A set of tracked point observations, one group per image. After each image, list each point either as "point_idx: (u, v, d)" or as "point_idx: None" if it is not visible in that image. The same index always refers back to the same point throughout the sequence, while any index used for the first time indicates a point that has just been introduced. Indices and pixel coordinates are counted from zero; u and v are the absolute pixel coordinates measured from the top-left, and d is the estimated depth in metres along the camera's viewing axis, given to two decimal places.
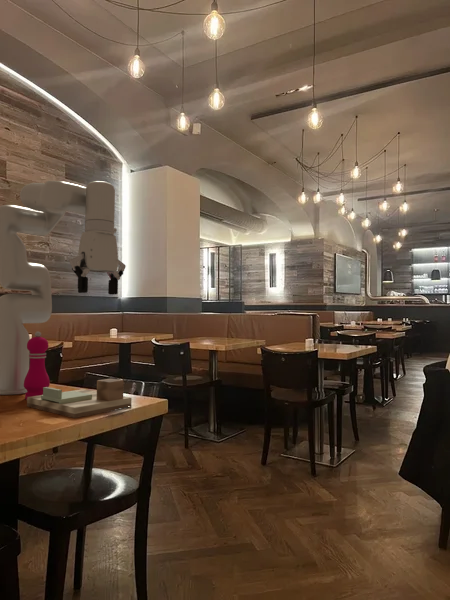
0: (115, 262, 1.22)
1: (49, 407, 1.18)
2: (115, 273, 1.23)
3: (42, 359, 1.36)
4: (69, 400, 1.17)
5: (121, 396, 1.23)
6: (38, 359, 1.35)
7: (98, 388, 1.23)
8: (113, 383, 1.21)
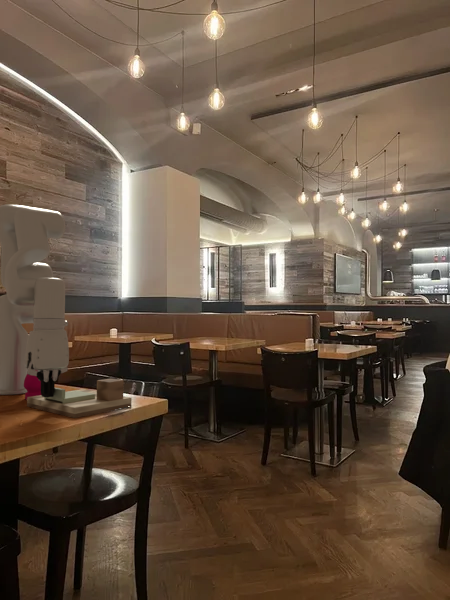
0: (65, 358, 1.19)
1: (49, 407, 1.18)
2: (55, 372, 1.18)
3: None
4: (72, 399, 1.18)
5: (121, 396, 1.23)
6: None
7: (98, 388, 1.23)
8: (113, 383, 1.21)
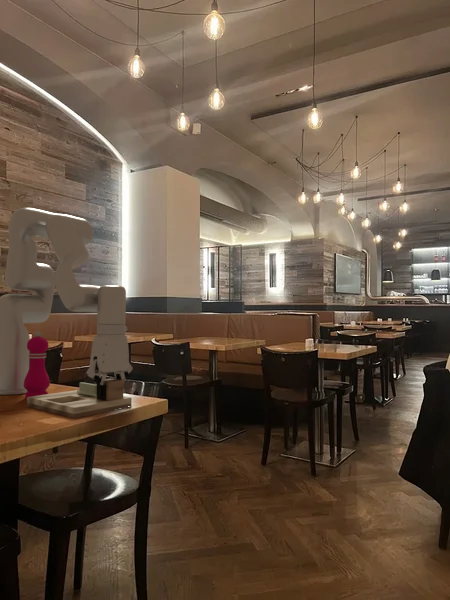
0: (126, 361, 1.25)
1: (49, 407, 1.18)
2: (122, 375, 1.25)
3: (42, 359, 1.36)
4: None
5: (121, 396, 1.23)
6: (38, 359, 1.35)
7: None
8: (113, 383, 1.21)
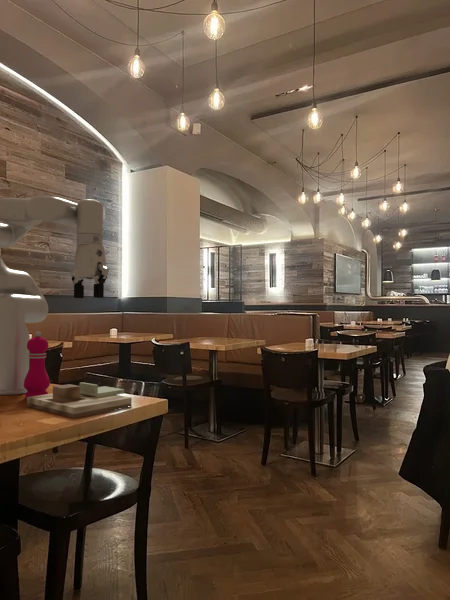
0: (90, 268, 1.33)
1: (49, 407, 1.18)
2: (94, 278, 1.34)
3: (42, 359, 1.36)
4: (104, 394, 1.26)
5: None
6: (38, 359, 1.35)
7: None
8: (56, 388, 1.21)
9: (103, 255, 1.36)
